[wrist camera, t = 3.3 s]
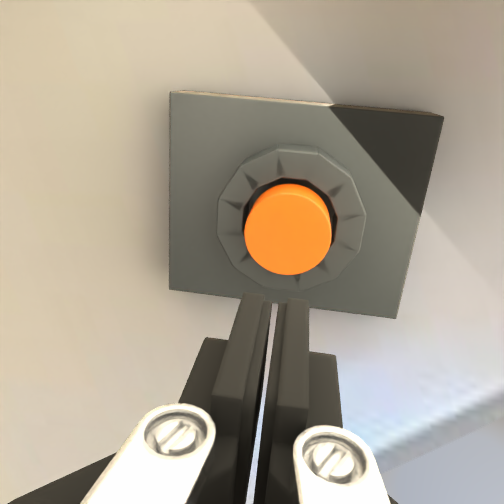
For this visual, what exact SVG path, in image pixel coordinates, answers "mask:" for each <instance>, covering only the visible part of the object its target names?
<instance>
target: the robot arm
mask: <svg viewBox="0 0 504 504" xmlns="http://www.w3.org/2000/svg"><path fill="white" fill-rule="evenodd" d="M264 298H265V295H264V294H256V293H248V292H243V295H242V298H241V302H240V305H239V308H238V311H237V314H236V318H235V321H234V324H233V327H232V330H231V334H230V337H229V340H223V339H216V338H208V337H206V338H205V339H204V341H203V343H202V346H201V348H200V351H199V353H198V356H197V358H196V361H195V363H194V365H193V368H192V370H191V373H190V375H189V378H188V380H187V383H186V385H185V388H184V390H183V392H182V395H181V397H180V400H179V402H178V403H175V404H167V405H164V406H160V407H157V408H156V409H154V410H152V411H150V412H149V413H147V414H146V415H145V416H144V417H143V418H142V419H141V420H140V422H139V423H138V424H137V426H136V427H135V428H134V430H133V431H132V433H131V434H130V435H129V437H128V438H127V439H126V441H125V442H124V444H123V445H122V446H121V448H120V449H119V451H118V452H117V453H114V454H112V455H110V456H108V457H106V458H104V459H101V460H99V461H97V462H95V463H93V464H91V465H88V466H86V467H84V468H82V469H80V470H78V471H75V472H73V473H71V474H69V475H67V476H65V477H62V478H60V479H58V480H56V481H54V482H51V483H49V484H47V485H45V486H43V487H41V488H38V489H36V490H34V491H32V492H30V493H28V494H25V495H23V496H21V497H19V498H17V499H15V500H13V501H11V502H10V503H8V504H245V503H246V497H247V490H248V484H249V477H250V470H251V464H252V457H253V451H254V444H255V437H256V431H257V424H258V418H259V411H260V404H261V398H262V390H263V381H264V372H265V363H266V354H267V345H268V335H269V326H270V317H271V308H272V301H267V300H264ZM253 504H398V503H397V502H396V501H395V500H393V499H392V498H391V497H390V496H389V495H388V494H387V493H386V489H385V487H384V484H383V481H382V478H381V475H380V472H379V469H378V467H377V464H376V461H375V458H374V456H373V454H372V452H371V450H370V449H369V447H368V446H367V445H366V444H365V443H364V442H363V441H362V440H361V439H360V438H359V437H357V436H356V435H354V434H353V433H351V432H350V431H347V430H345V429H343V424H342V414H341V403H340V393H339V383H338V372H337V362H336V356H335V355H331V354H324V353H317V352H310V351H309V300H303V299H295V298H288V300H287V303H283V302H279V304H278V312H277V319H276V326H275V333H274V340H273V348H272V355H271V362H270V369H269V376H268V384H267V391H266V398H265V406H264V414H263V423H262V432H261V441H260V449H259V458H258V467H257V476H256V485H255V494H254V502H253Z"/></svg>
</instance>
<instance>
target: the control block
mask: <svg viewBox="0 0 504 504" xmlns="http://www.w3.org/2000/svg"><path fill="white" fill-rule="evenodd" d="M443 121H444V117H443V116H440V115H437V114H434V113H430V112H419V111H408V110H397V109H386V108H374V107H363V106H352V105H341V104H330V103H319V102H307V101H296V100H285V99H274V98H263V97H252V96H240V95H229V94H218V93H207V92H196V91H185V90H183V91H175V92H170V161H169V289H170V290H177V291H185V292H193V293H201V294H208V295H216V296H224V297H231V298H239V299H241V298H242V295H243V292H248V293H256V294H264V295H265V298H264V300H267V301H272V303H277V304H279V302H283V303H287V300H288V298H295V299H303V300H309V308H316V309H324V310H331V311H339V312H347V313H354V314H362V315H370V316H377V317H385V318H393V319H396V317H397V313H398V309H399V305H400V300H401V296H402V292H403V288H404V284H405V279H406V275H407V271H408V267H409V263H410V259H411V254H412V250H413V246H414V242H415V238H416V233H417V229H418V225H419V221H420V217H421V213H422V208H423V204H424V200H425V196H426V192H427V187H428V183H429V179H430V175H431V171H432V167H433V162H434V158H435V154H436V150H437V146H438V141H439V137H440V133H441V129H442V125H443ZM281 184H298V185H302V186H305V187H307V188H309V189H311V190H312V191H314V192H315V193H316V194H318V195H319V196H320V198H321V199H322V200H323V202H324V203H325V205H326V207H327V209H328V212H329V217H330V224H331V243H330V247H329V249H328V252H327V253H326V255H325V257H324V258H323V259H322V260H321V261H320V262H319V264H317V265H316V266H315V267H313V268H312V269H310V270H308V271H306V272H303V273H300V274H295V275H282V274H277V273H274V272H271V271H269V270H267V269H265V268H263V267H262V266H261V265H259V264H258V263H257V262H256V261H255V260H254V259H253V257H252V256H251V254H250V253H249V251H248V249H247V246H246V243H245V237H244V230H245V224H246V221H247V218H248V216H249V214H250V211H251V209H252V207H253V205H254V203H255V201H256V200H257V199H258V197H259V196H260V195H261V194H262V193H263V192H265V191H266V190H268V189H270V188H272V187H274V186H277V185H281Z"/></svg>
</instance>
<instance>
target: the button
mask: <svg viewBox="0 0 504 504" xmlns="http://www.w3.org/2000/svg"><path fill="white" fill-rule="evenodd" d="M244 237H245V243H246V246H247V249H248V251H249V253H250V254H251V256H252V257H253V259H254V260H255V261H256V262H257V263H258V264H259V265H261V266H262V267H263V268H265V269H267V270H269V271H271V272H274V273H277V274H282V275H295V274H300V273H303V272H306V271H308V270H310V269H312V268H313V267H315V266H316V265H317V264H319V262H320V261H321V260H322V259H323V258H324V257H325V255H326V253H327V252H328V249H329V247H330V243H331V224H330V217H329V212H328V209H327V207H326V205H325V203H324V202H323V200H322V199H321V198H320V196H319V195H318V194H316V193H315V192H314V191H312V190H311V189H309V188H307V187H305V186H302V185H298V184H281V185H277V186H274V187H272V188H270V189H268V190H266V191H265V192H263V193H262V194H261V195H260V196H259V197H258V199H257V200H256V201H255V203H254V205H253V207H252V209H251V211H250V214H249V216H248V218H247V221H246V224H245V230H244Z"/></svg>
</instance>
